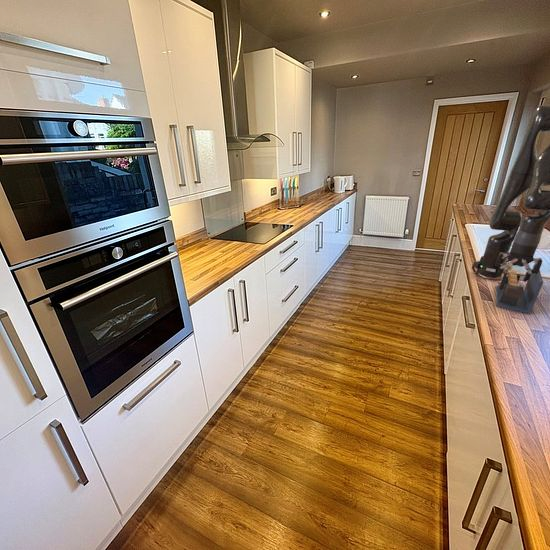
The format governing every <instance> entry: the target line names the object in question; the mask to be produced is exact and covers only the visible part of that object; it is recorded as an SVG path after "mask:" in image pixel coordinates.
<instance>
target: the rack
mask: <svg viewBox="0 0 550 550" xmlns="http://www.w3.org/2000/svg"><path fill="white" fill-rule="evenodd" d="M535 265H536V264H535V263H534V265H533V267H532V269H534V268H535ZM516 274H517V273H516ZM520 279H521V274H517V281H518V282H519V281H520ZM507 284H508V271H503V274H502V278H501V280H500V284H499V285H496V292H495V293H496V295H495V296H496V298H495V299H496V300H495V301H496V303H495V304H496V305H495V306H496V307H498V308H501V309H506V310H510V311H515V312H518V313H524V314H528V315H531V313H532V311H533V308H534V305H535V304H536V301H537V299H538V297H539V294H540V291H541V289H542V286H543V284H544V280H543V277H542V273H541V270H539V272H538V273H537V274H536V273H533V274H531V276H530V278H529V280H528V281H526V284H525V287H524V288H523V289H524V292H523V294H522V297H521V299H520V298H515V297H510V296H506V295H505V289H506V286H507Z"/></svg>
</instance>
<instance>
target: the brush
mask: <svg viewBox="0 0 550 550" xmlns="http://www.w3.org/2000/svg"><path fill="white" fill-rule="evenodd" d="M507 277H508V284H507V286H506V289H505V295H506V296H510V297H515V298H520V299H521V297H522V294H523V292H524V289H525V288H524V287H523V286H520V285H519V281H517V271H516V270H513V269H512V270H510V271H508V273H507Z"/></svg>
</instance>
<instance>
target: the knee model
mask: <svg viewBox="0 0 550 550" xmlns="http://www.w3.org/2000/svg"><path fill="white" fill-rule="evenodd" d="M507 260H508V258H507V259H506V261H507ZM514 268H515V266H514V265H512V264H511V265H509V266H507V267H505V270H506V272H509V271H510V270H513V269H514Z"/></svg>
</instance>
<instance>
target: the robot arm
mask: <svg viewBox="0 0 550 550" xmlns="http://www.w3.org/2000/svg"><path fill="white" fill-rule="evenodd" d="M540 133H550V104H541V105H538V106H537V107H535V109H534V111H533V112H532V114H531V116H530V119H529V122H528V123H527V128H526V130H525V134H524V137H523V140H522V143H521V146H520V149H519V150H518V151H519V152H518V154H517V156H516V158H515V161H514V163H513V165H512V168H511V169H510V173H509V175H508V177H507V180H506V182H505V186H504V189H503V191H502V193H501V196H500V198H499V200H498V202H497V204H496V206H495V208H494V210H493V212H492V214H491V216H490V219H489V228H490V229H491V230H495V231H501V232H500V233H497V234H493V235H490V236H489V238H488V239H487V243H486V246H485V250H484V253H483V255H482V256H481V257H480V259H479V260H477V261H474V262H473V264H472V265H471V270H472V272H473V273H475V275H478V276H479V277H480V278H483V279H486V280H492V281H497V280H500V279H501V277H503V274H504V271H505V270H504V269H506V268H507V266H512V265H513V266H514V267H516V266H518V267H521V268H522V267H524V268H525V270H526V272H525V274H524V277H523V279H522V281H523V282H526V283H527V282H528V280H529V278H530V276H531V274H533V273H536V274H537V273H538V272H539V270H540V269H541V267H542V264H543V258H542V257H534V256H535V254H536V251H537V249H538V246H539V244H540V242H541V238H542V235H543V232H544V230H545V227H546V225H547V223H548V221H549V220H550V190H549V189H548V190H544V189H541V188H542V187H543V188H544V187H549V186H550V143H549V144H548V145H547V147H546V148H545V149H544V150H543V151H542V152H541V153H540V155H539V154H538V150H537V140H538V136H539V134H540ZM524 193H525V196H524V198H523V202H522V203H523V206H524V207H525V209H527V210H535V211H536V210H537V211H539V212H537V213H534V214H533V213H532V214H528V215H525V216H523V213H522V211H520V210H513V209H509V208H510V206H511V205H512V204H513V202H514V201H515V200H517V199H518V198H519V197H521V196H522V195H523V194H524ZM507 258H508V260H507V261H506V259H507ZM533 262H534V264H536V265H535V268H534V269H533V268H531V266H530V264H531V263H533ZM511 264H512V265H511ZM540 271H541V270H540Z"/></svg>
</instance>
